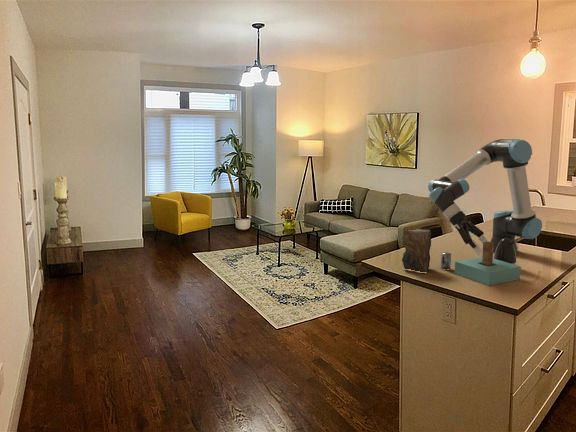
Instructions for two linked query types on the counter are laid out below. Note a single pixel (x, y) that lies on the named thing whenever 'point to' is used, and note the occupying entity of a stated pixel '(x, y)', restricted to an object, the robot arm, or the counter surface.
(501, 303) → the counter surface
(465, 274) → the socket block
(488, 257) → the long walnut pin
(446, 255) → the short steel pin
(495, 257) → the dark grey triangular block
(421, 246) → the rough brown stone
